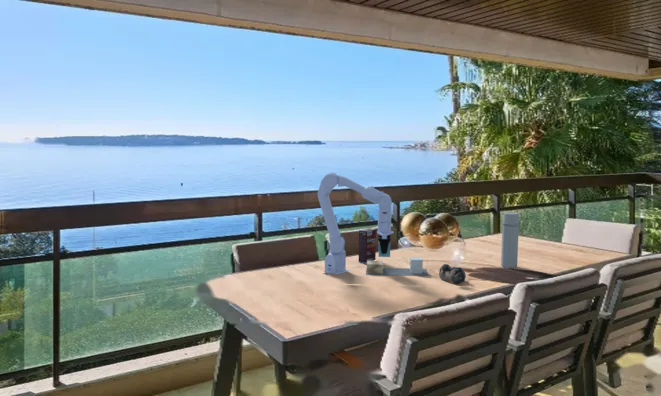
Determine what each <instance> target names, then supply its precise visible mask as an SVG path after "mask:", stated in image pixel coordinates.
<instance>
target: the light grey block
mask: <svg viewBox="0 0 661 396" xmlns="http://www.w3.org/2000/svg"><path fill="white" fill-rule="evenodd" d="M423 261H424V260H423V257H415V256H414V257H412V256H411V257H410V258H409V269H410V272H411V273H415V274H422V269H424V267H423Z"/></svg>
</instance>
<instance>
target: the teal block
mask: <svg viewBox="0 0 661 396" xmlns="http://www.w3.org/2000/svg"><path fill="white" fill-rule="evenodd" d="M378 257H380V258H391V241H390V242H389V245H388V249H387V253H386V254H382V253H381V247H380V243H379V242H378Z"/></svg>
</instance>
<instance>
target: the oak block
mask: <svg viewBox="0 0 661 396" xmlns="http://www.w3.org/2000/svg"><path fill="white" fill-rule="evenodd" d="M366 268H367V273H380V274H383V268H384V261H383V260H376V261H367V263H366Z"/></svg>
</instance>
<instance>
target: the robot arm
mask: <svg viewBox="0 0 661 396" xmlns="http://www.w3.org/2000/svg"><path fill="white" fill-rule="evenodd" d="M336 186H337V187H339V188H340V187H346V188H348V189H350V190H353V191H354V192H357V193H359V194H361V196H362V198H363V199H365V200H367V201H370V202H371V203H373V204H377V205H378V211H377V230H376V234H377V241H378V244H379V243H380V247H381V253H382V254H386V253H387V249H388V245H389V242H390V243H391V240H392V238H391V235H393V234H394V231H393V230H392V204H393V202H392V201H393V200H392V198H391V196H390V195H389V194H388V193H385V192H384V191H383V190H382V191H381V190H378V189H376V188H375V187H374V186H373V185H371V186H370V185H367V186H363V185H361V184H359V183H358V182H356V181H353V180H352V179H350V178H348V177H346V176H343V175H341V174H337V173H335V172H329V173H326V174H325V176H323V178H322V179H321V181H320V185H319V187H318V191H317V198H318V202H319V205H320V208H321V209H320V210H321V212H322V215H323V218H324V222H325V226H326V229H327V231H328V238H329V253H328V254H327V255H326V256H325V257H324V271H323V272H325V273H324V274H328V273H329V274H333V275H340V274H341V275H342V274H343V273H346V272H349V271H350V269H346V267H347V266H346V259H347V258H346V257H347V255H346V253H347V252H346V250H345V245H346V240H345V238H344V236H343V235H342V233H341V231H340V229H339V226H338V222H337V219H336V215H335V212H334V209H333V206H332V202H331V199H330V194H331V192H332V191H333V189H334V188H335V187H336Z"/></svg>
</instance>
